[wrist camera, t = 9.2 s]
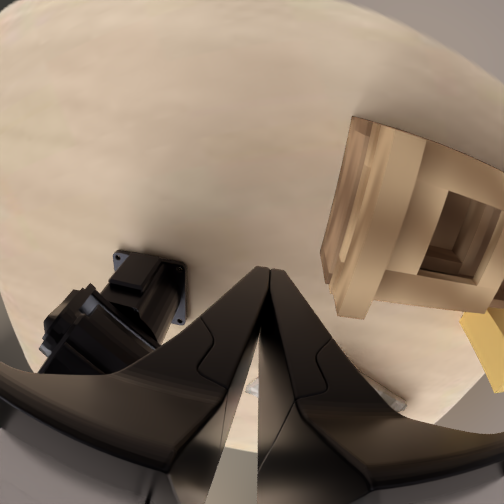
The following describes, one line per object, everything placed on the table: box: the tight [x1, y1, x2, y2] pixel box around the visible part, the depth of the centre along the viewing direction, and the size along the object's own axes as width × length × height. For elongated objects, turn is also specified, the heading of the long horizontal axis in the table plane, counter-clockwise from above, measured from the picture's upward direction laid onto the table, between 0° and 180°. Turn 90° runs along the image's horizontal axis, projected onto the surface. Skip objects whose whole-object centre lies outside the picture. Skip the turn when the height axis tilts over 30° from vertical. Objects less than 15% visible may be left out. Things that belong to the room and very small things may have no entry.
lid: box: [329, 122, 504, 319], centre depth 14 cm, size 10×13×3 cm
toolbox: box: [320, 116, 504, 309], centre depth 17 cm, size 10×18×4 cm, turn 82°
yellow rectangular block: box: [459, 307, 504, 393], centre depth 19 cm, size 4×4×9 cm
